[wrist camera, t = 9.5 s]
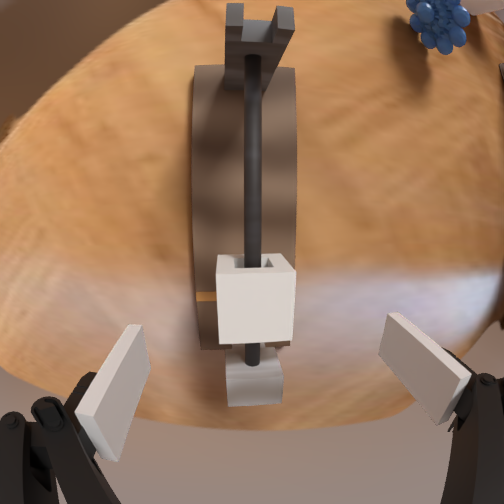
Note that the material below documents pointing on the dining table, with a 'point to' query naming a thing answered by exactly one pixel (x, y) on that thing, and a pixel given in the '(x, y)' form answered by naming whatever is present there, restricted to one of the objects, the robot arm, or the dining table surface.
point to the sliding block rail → (244, 182)
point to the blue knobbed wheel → (439, 23)
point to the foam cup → (482, 6)
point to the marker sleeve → (255, 299)
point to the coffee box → (502, 69)
